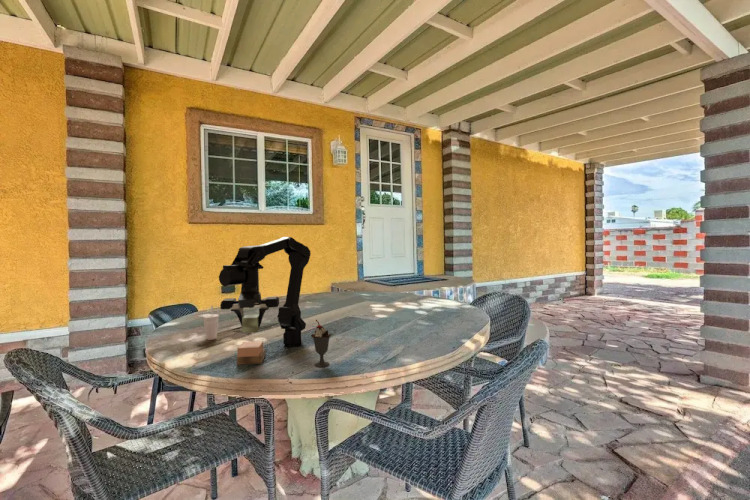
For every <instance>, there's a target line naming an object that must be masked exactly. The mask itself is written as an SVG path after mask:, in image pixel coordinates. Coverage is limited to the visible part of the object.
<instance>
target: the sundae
mask: <svg viewBox="0 0 750 500" xmlns="http://www.w3.org/2000/svg"><path fill="white" fill-rule="evenodd" d="M315 321H316V322H317V326H316V329H315V330H314V332H313V334H311V335H310V336H311V338H312V339H313V343H314V348H315V349H314V350H315V352H316V353H317V354H318V355H319V361H317V362H315V363H314V367H316V368H326V367H329V365H330V362H328V361H325V360H324V355H325V354H326V353H327V352H328V349H329V343H330V337H331V336H332V333H329V330H328V329H327V328H326V327H325V326H322V325H320V322H319V321H318V319H315Z"/></svg>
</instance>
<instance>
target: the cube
mask: <svg viewBox="0 0 750 500" xmlns="http://www.w3.org/2000/svg"><path fill="white" fill-rule="evenodd" d="M258 321H259V313H257V314H244V317H243V318H242V326H241V328H242V329H241V331H242V333H243V334H244V333H259V331H260V329H261V326H260V327H259V326H258Z"/></svg>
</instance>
